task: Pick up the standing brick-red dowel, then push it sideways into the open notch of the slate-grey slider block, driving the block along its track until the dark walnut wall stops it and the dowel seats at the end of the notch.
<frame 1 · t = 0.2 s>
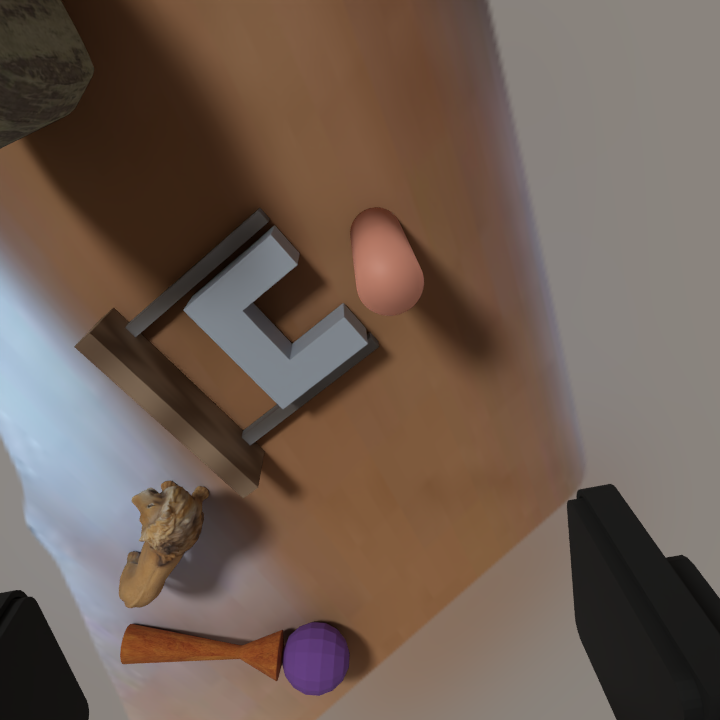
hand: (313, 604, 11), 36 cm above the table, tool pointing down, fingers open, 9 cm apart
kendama: (241, 628, 60), on the table
block: (278, 319, 46), point 2 cm above the table, slide at 0.0 cm
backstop: (280, 311, 47), on the table
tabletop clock: (11, 14, 39), on the table
dowel: (375, 233, 45), on the table
lion figurine: (168, 510, 54), on the table
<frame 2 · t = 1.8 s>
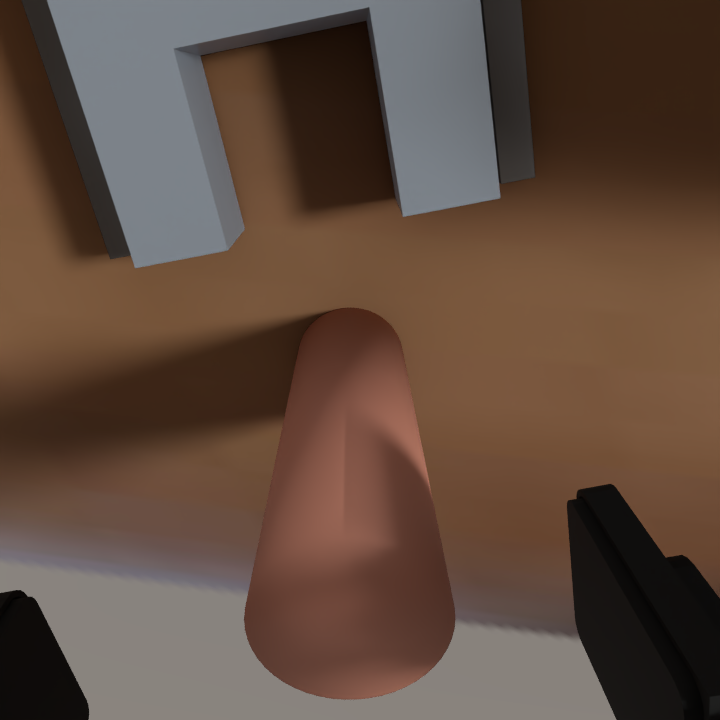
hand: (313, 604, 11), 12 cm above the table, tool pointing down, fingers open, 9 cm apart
block: (285, 74, 17), point 2 cm above the table, slide at 0.0 cm
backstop: (291, 76, 19), on the table
dowel: (350, 357, 22), on the table
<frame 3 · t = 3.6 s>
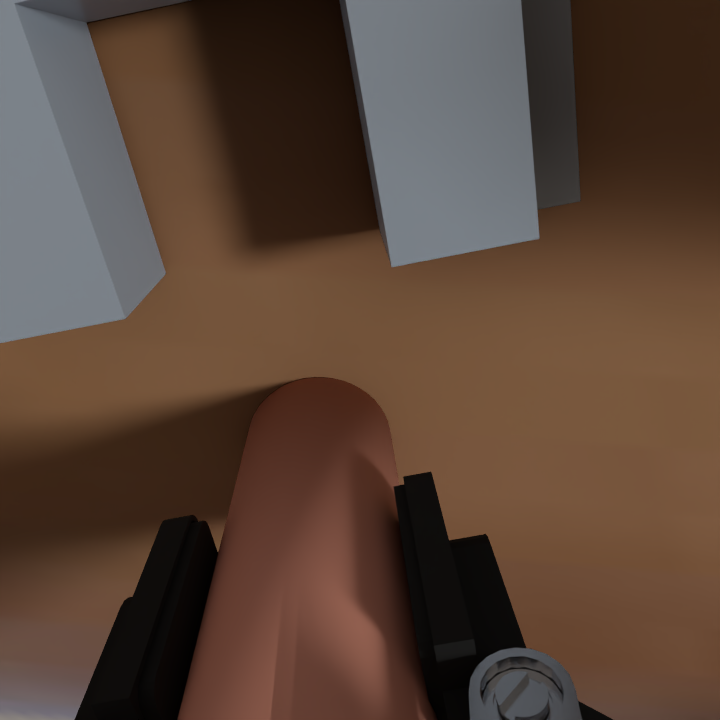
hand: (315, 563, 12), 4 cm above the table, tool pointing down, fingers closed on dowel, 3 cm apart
block: (209, 49, 11), point 2 cm above the table, slide at 0.0 cm
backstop: (225, 54, 13), on the table
dowel: (319, 442, 16), on the table, touching gripper
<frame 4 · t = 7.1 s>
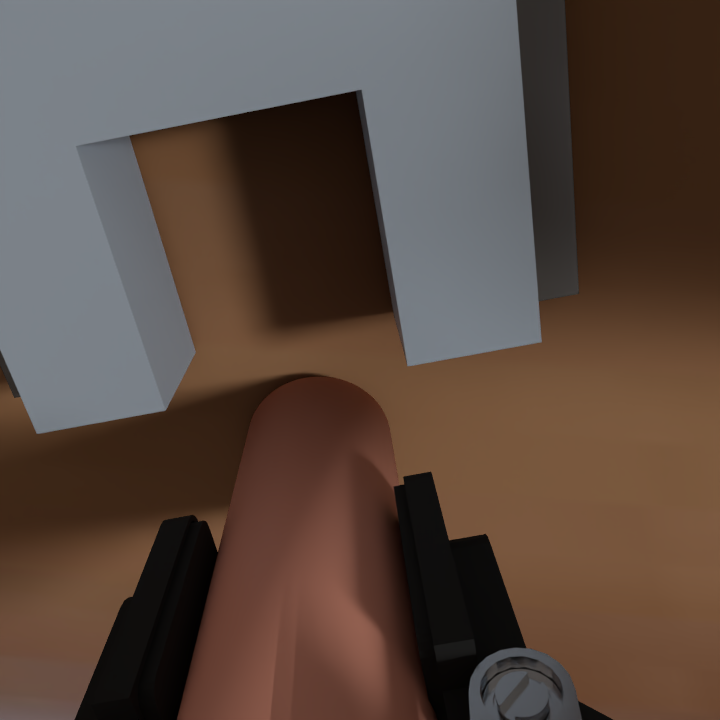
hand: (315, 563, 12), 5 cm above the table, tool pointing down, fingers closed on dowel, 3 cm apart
block: (244, 169, 12), point 2 cm above the table, slide at 0.0 cm
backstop: (254, 160, 14), on the table
dowel: (319, 441, 16), on the table, touching gripper
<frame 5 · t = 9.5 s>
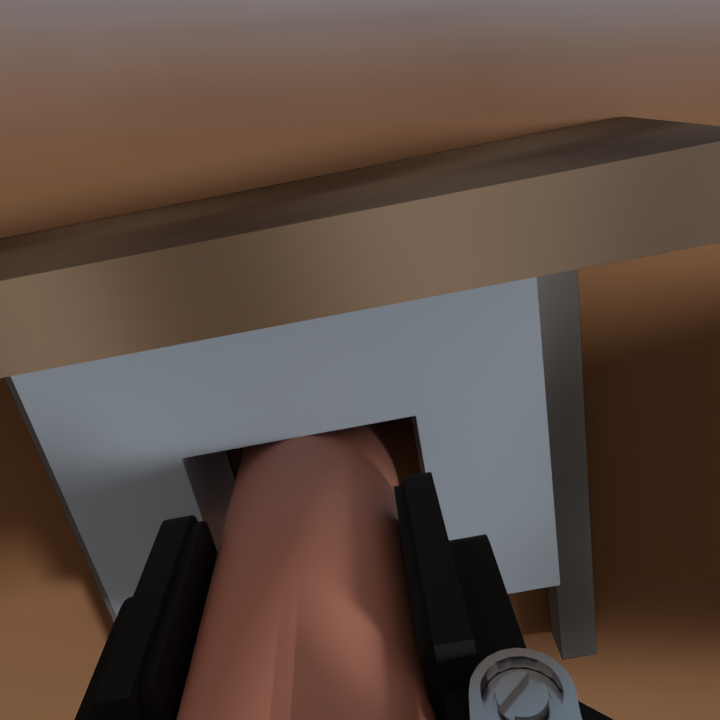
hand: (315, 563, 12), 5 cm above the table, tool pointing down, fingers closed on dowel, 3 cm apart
block: (310, 441, 15), point 2 cm above the table, slide at 5.0 cm, touching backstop, dowel
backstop: (349, 561, 18), on the table
dowel: (319, 441, 16), touching block, gripper
when the fingers open (5 cm above the table, at t = 10.6 s): dowel stays where it is, on the table.
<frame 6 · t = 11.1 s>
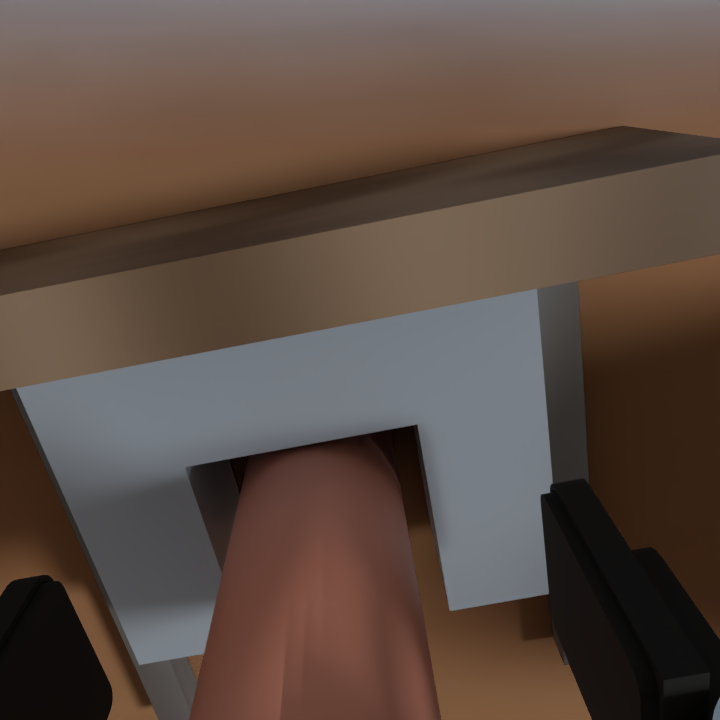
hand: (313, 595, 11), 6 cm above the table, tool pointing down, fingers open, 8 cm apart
block: (312, 449, 15), point 2 cm above the table, slide at 5.0 cm, touching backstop
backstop: (352, 567, 18), on the table
dowel: (322, 445, 17), on the table
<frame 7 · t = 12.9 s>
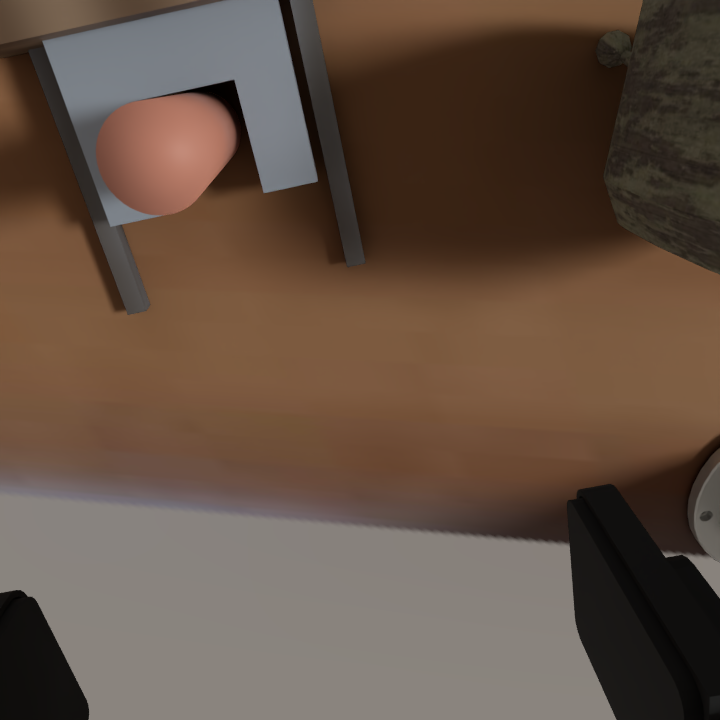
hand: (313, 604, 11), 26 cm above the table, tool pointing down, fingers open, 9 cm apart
block: (193, 113, 30), point 2 cm above the table, slide at 5.0 cm, touching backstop
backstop: (227, 211, 33), on the table
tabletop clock: (688, 117, 34), on the table
dowel: (204, 130, 32), on the table
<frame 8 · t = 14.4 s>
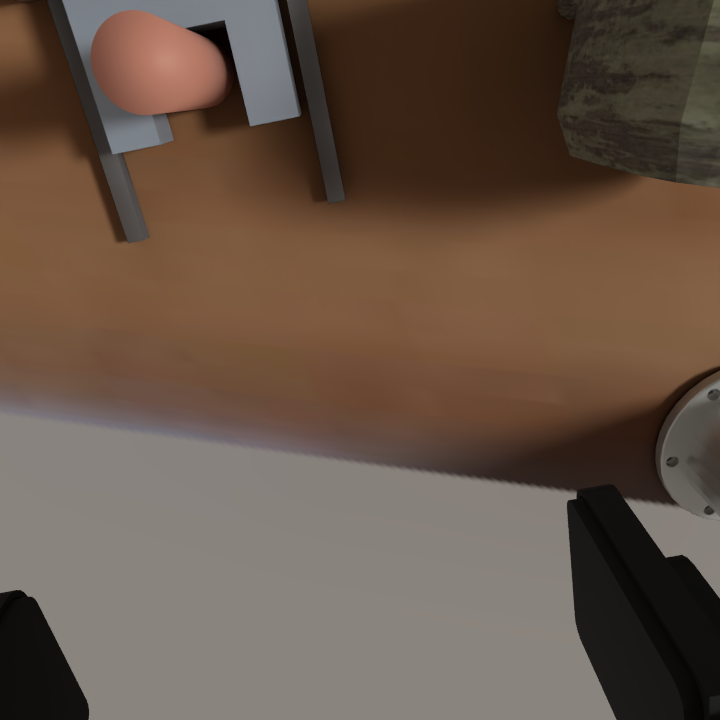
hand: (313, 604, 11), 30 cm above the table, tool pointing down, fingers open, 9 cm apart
block: (189, 53, 33), point 2 cm above the table, slide at 5.0 cm, touching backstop
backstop: (220, 149, 37), on the table
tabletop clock: (647, 69, 36), on the table
dowel: (200, 73, 35), on the table
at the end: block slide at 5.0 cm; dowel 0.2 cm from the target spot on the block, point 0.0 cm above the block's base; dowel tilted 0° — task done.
